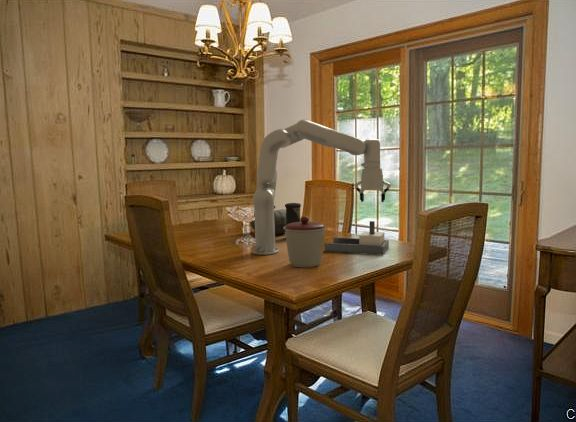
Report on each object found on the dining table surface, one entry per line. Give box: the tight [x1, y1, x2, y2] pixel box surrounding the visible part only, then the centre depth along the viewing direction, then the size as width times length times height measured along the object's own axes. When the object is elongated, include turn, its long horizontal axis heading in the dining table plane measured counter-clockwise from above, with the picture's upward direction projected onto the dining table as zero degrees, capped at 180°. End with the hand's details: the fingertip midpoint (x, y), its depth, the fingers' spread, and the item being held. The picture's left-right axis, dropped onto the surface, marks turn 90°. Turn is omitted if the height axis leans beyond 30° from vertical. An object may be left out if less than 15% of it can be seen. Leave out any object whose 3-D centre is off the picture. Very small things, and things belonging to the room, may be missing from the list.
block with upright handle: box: [358, 220, 386, 246], centre depth 214 cm, size 11×10×13 cm
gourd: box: [249, 205, 286, 236], centre depth 266 cm, size 25×25×17 cm
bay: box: [324, 236, 390, 256], centre depth 218 cm, size 16×28×4 cm, turn 68°
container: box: [284, 202, 302, 225], centre depth 250 cm, size 9×9×20 cm
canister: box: [283, 215, 327, 269], centre depth 189 cm, size 18×18×21 cm
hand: (372, 201), depth 212 cm, fingers open, 9 cm apart
